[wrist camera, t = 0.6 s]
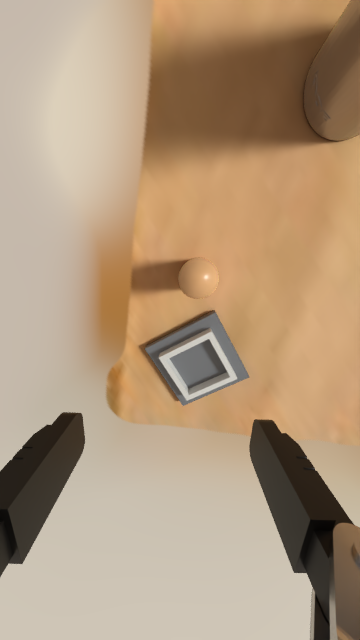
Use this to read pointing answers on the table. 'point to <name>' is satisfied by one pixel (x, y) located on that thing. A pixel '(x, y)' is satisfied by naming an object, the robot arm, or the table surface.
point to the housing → (197, 359)
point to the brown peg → (198, 278)
